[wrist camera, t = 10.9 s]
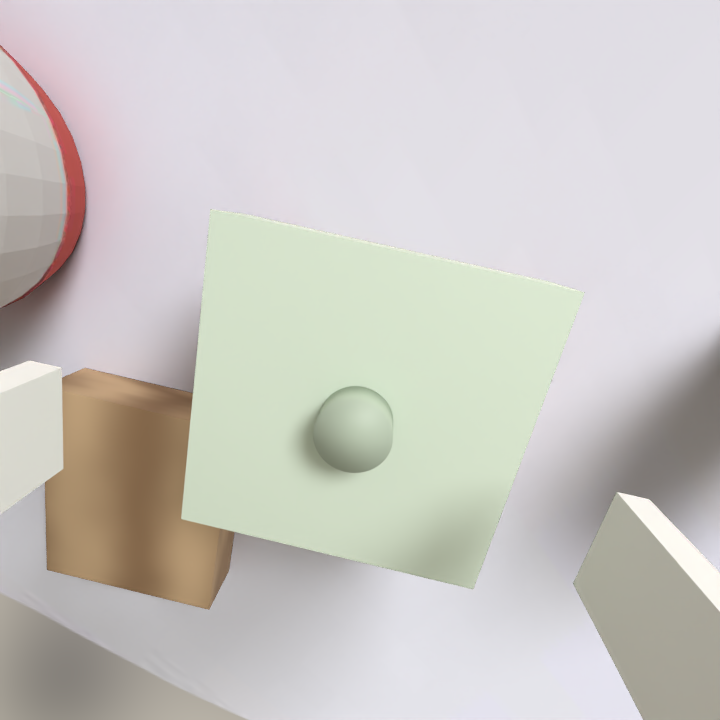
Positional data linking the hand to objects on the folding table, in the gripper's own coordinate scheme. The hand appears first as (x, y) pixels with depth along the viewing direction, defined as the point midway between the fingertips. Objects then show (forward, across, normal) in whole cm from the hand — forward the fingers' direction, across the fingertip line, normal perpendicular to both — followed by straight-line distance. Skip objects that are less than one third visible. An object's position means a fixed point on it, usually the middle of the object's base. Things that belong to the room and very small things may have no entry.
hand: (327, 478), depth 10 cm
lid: (+7, 0, 0) cm, 7 cm away
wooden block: (+13, -10, -11) cm, 20 cm away
